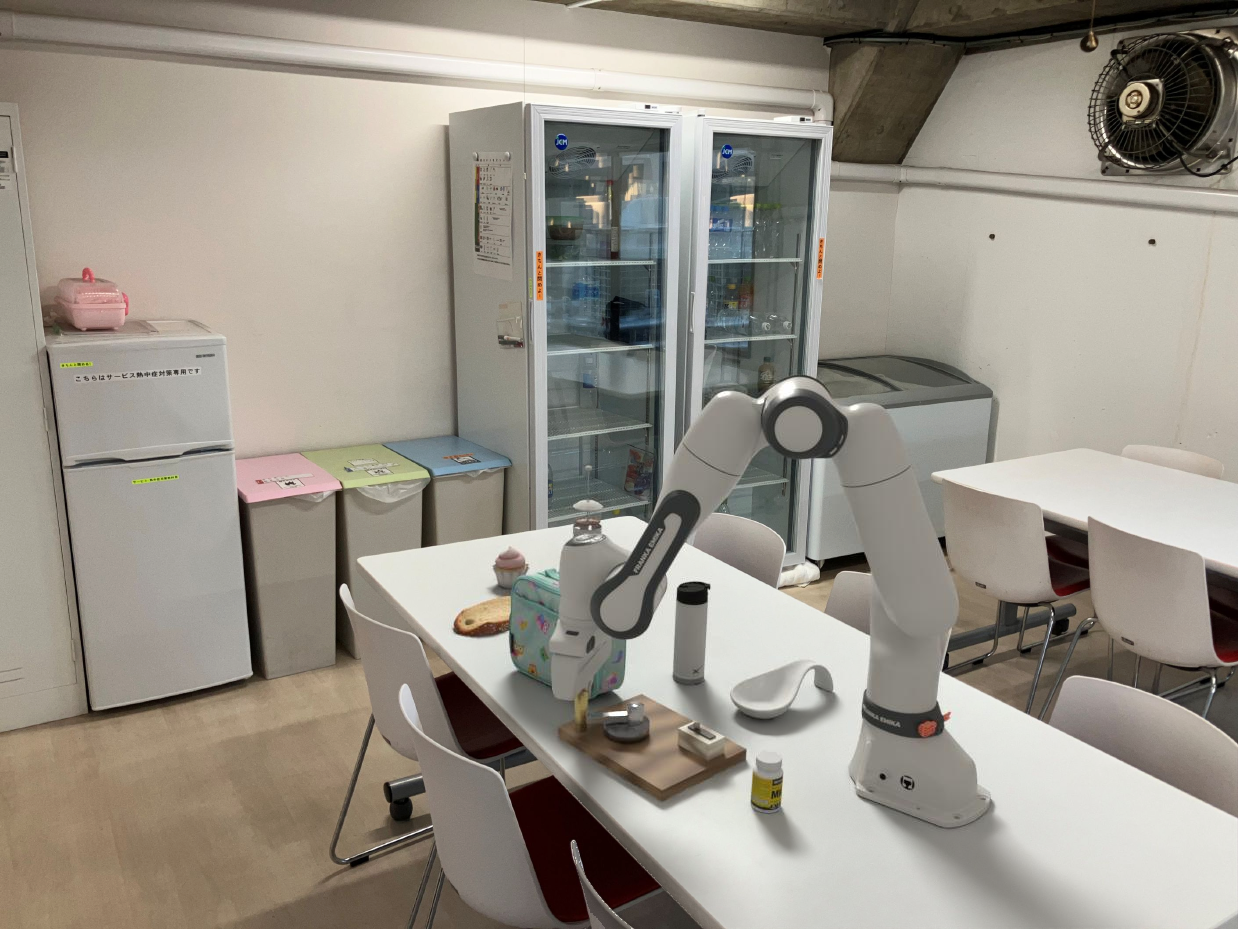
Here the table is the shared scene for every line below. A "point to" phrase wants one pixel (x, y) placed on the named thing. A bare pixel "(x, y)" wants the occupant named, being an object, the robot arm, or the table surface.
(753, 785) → the supplement bottle
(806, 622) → the table surface
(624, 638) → the robot arm
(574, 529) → the french press
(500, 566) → the cupcake
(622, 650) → the lunch box
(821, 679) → the spoon rest
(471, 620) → the slice of bread
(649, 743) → the stand
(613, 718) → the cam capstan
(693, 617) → the travel mug
